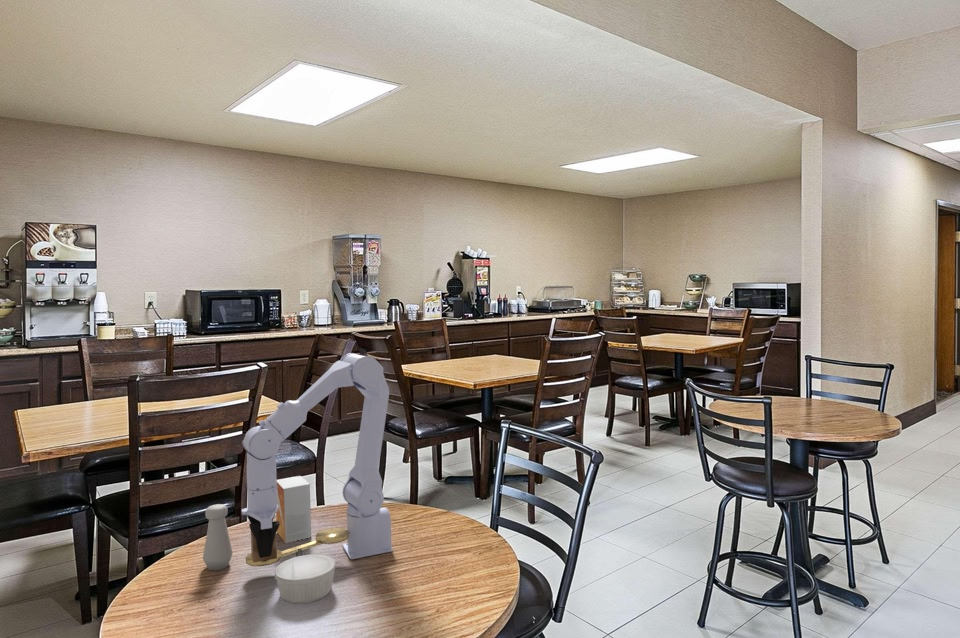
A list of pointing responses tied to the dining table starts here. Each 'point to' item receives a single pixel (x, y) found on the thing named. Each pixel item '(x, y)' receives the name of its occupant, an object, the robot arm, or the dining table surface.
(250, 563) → the balance
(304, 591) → the ramekin
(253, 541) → the block
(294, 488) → the small box
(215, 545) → the salt shaker
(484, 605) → the dining table surface
